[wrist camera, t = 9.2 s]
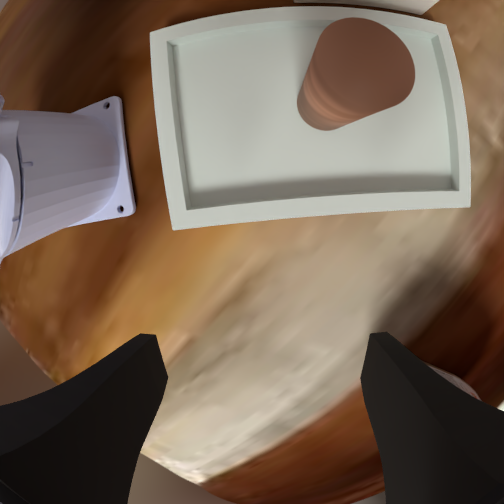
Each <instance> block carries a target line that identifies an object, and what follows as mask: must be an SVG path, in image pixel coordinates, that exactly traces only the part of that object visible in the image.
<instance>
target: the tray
mask: <svg viewBox="0 0 504 504" xmlns="http://www.w3.org/2000/svg"><path fill="white" fill-rule="evenodd" d="M350 17H358V18H365V19H369V20H372V21H375V22H378V23H380V24H382V25H384V26H385V27H387V28H388V29H390V30H391V31H392V32H394V33H395V34H396V35H397V36H398V37H399V38H400V39H401V40H402V41H403V43H404V44H405V45H406V47H407V48H408V50H409V52H410V54H411V56H412V59H413V62H414V66H415V82H414V86H413V89H412V91H411V93H410V94H409V96H408V97H407V98H406V99H405V100H404V101H402V102H401V103H400V104H398V105H396V106H393V107H391V108H388V109H385V110H383V111H380V112H377V113H375V114H372V115H370V116H367V117H365V118H362V119H359V120H357V121H355V122H352V123H350V124H347V125H345V126H342V127H340V128H338V129H335V130H331V131H322V130H318V129H315V128H313V127H311V126H310V125H308V124H307V123H306V122H305V121H304V120H303V119H302V117H301V116H300V114H299V112H298V108H297V97H298V94H299V91H300V89H301V86H302V83H303V80H304V77H305V75H306V72H307V69H308V66H309V64H310V61H311V58H312V55H313V53H314V50H315V47H316V44H317V42H318V39H319V37H320V35H321V33H322V32H323V30H324V29H325V28H326V27H327V26H329V25H330V24H331V23H333V22H335V21H337V20H340V19H344V18H350ZM150 50H151V67H152V81H153V93H154V103H155V113H156V123H157V131H158V139H159V147H160V155H161V162H162V169H163V176H164V182H165V188H166V194H167V200H168V206H169V212H170V218H171V223H172V228H173V230H180V229H188V228H197V227H206V226H215V225H224V224H234V223H244V222H254V221H264V220H275V219H286V218H297V217H309V216H322V215H335V214H348V213H363V212H378V211H395V210H414V209H435V208H460V207H470V202H471V165H470V146H469V134H468V124H467V116H466V108H465V102H464V95H463V90H462V84H461V79H460V75H459V70H458V66H457V61H456V57H455V54H454V50H453V46H452V43H451V39H450V36H449V33H448V29H447V26H446V25H445V24H441V23H437V22H434V21H430V20H426V19H421V18H417V17H412V16H407V15H402V14H397V13H391V12H384V11H377V10H369V9H360V8H347V7H327V6H298V7H277V8H265V9H255V10H247V11H240V12H233V13H227V14H221V15H216V16H211V17H206V18H201V19H197V20H192V21H188V22H184V23H180V24H177V25H173V26H170V27H166V28H163V29H159V30H156V31H153V32H150Z"/></svg>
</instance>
